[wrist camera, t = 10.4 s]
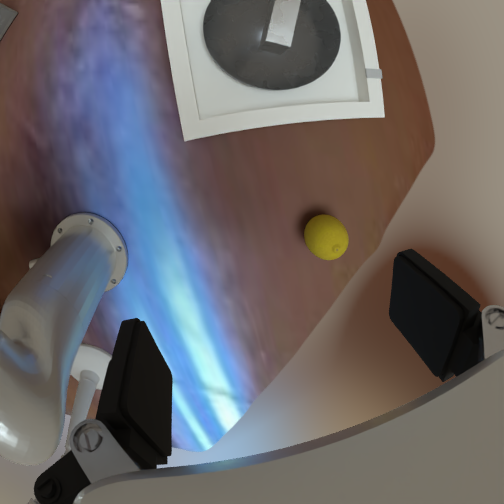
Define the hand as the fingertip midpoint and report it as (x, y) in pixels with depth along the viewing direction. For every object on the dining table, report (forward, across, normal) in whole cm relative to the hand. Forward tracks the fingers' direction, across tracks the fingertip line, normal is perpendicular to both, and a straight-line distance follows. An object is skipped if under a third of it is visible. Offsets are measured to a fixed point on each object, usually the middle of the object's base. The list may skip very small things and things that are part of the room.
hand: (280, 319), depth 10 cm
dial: (+27, -9, -17) cm, 33 cm away
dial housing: (+29, -9, -17) cm, 35 cm away
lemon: (+29, -11, +10) cm, 33 cm away
